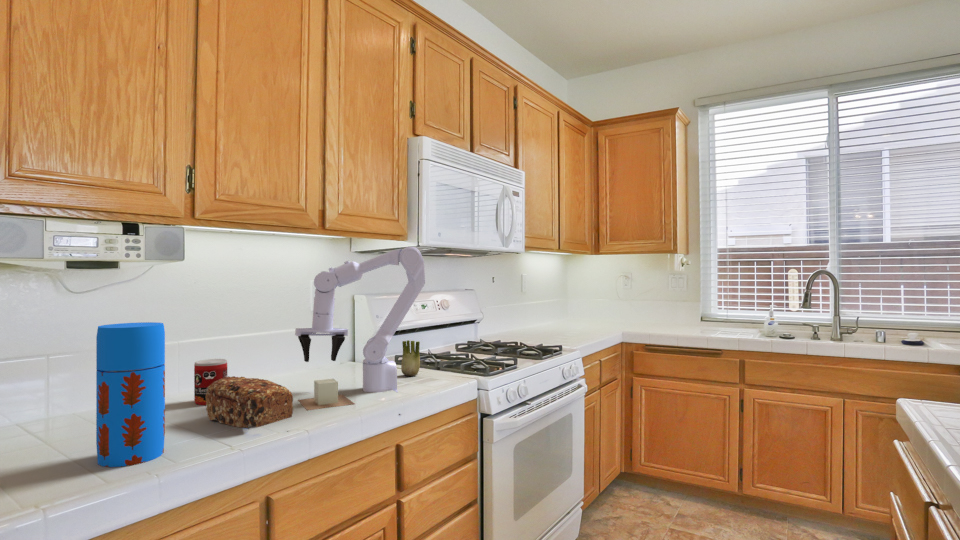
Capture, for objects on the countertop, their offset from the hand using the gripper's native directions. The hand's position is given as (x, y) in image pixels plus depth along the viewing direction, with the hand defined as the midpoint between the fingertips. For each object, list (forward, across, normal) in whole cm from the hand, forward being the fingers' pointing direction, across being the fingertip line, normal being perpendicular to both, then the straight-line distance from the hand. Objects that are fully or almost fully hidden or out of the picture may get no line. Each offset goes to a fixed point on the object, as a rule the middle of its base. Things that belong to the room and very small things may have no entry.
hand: (320, 360), depth 149 cm
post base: (+9, +2, +14) cm, 17 cm away
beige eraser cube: (+8, +2, +14) cm, 16 cm away
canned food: (+12, +26, -8) cm, 30 cm away
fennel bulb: (+8, -34, -10) cm, 36 cm away
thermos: (+12, +44, +31) cm, 55 cm away
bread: (+11, +21, +18) cm, 30 cm away
